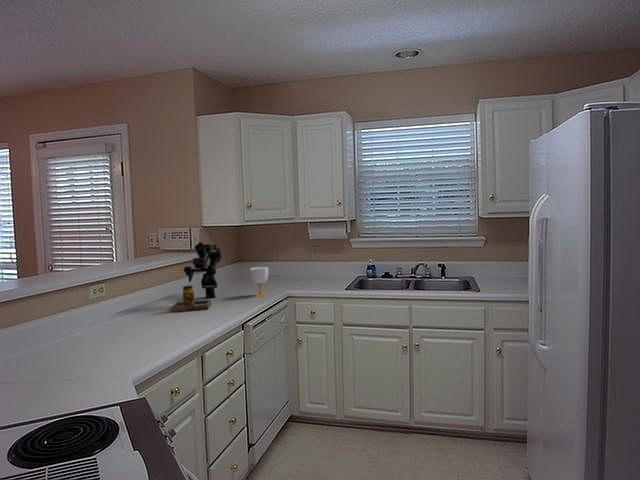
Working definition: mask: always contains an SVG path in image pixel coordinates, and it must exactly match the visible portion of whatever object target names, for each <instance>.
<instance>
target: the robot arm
mask: <svg viewBox="0 0 640 480" xmlns="http://www.w3.org/2000/svg"><path fill="white" fill-rule="evenodd" d="M194 249H195V252H196V254H197V256H198V257H193V258H192V264H193V268H192V266H184V267H183V272H184V274H185V275H186V276H188V282H189V283H191V282H192V280H193V278H194V273H203V274H202V277H201V280H200V284H201V289H203V290H205V291H204V292H205V297H204V299H215V298H216V297H217V295H216V292H215V291H216V290H215V289H217V288H218V282H217V280H216V277H215V275H216V274H217V264H218V263H220V262H221V260H222V258H223V254H222V250H221V249H220V248H219V247H218V246H217V244H214V243H213V244H209V243H207V244H206V243H205V244H204V243H203V242H201V241H200V242H198V243H197V244H196V245H195V246H194ZM208 261H209V263H208ZM194 267H195V268H194Z"/></svg>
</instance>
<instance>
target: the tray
mask: <svg viewBox="0 0 640 480" xmlns="http://www.w3.org/2000/svg"><path fill="white" fill-rule="evenodd" d="M195 305H197V306H186V307H182V306H184V302H183V301H180V302H176V303H174V304H173V305H172V306H170V313H171V312H173V313H181V312H183V313H184V311H185V312H193V311H195V312H196V311H208V310H209V309H210V306H211V305H212V300H211V299H204V300H195Z"/></svg>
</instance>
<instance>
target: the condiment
mask: <svg viewBox="0 0 640 480" xmlns="http://www.w3.org/2000/svg"><path fill="white" fill-rule="evenodd" d="M182 296H183V297H182V298H183V301H182V302H184V306H182V307H186V306H197V305H195V301H196V300H195V292H194V288H193V285H184V286H182Z"/></svg>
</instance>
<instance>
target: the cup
mask: <svg viewBox="0 0 640 480" xmlns="http://www.w3.org/2000/svg"><path fill="white" fill-rule="evenodd" d="M249 272H250V273H249V274H250V279H251V281H252V282H253V284H255V285H258V286H259V293H254V294H253V296H255V297H264V296H267V294H268V292H262V285H263V284H265V283H266V282H267V281H268V278H269V267H268V266H257V267H256V266H255V267H252V268H251V267H250V268H249Z"/></svg>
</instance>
